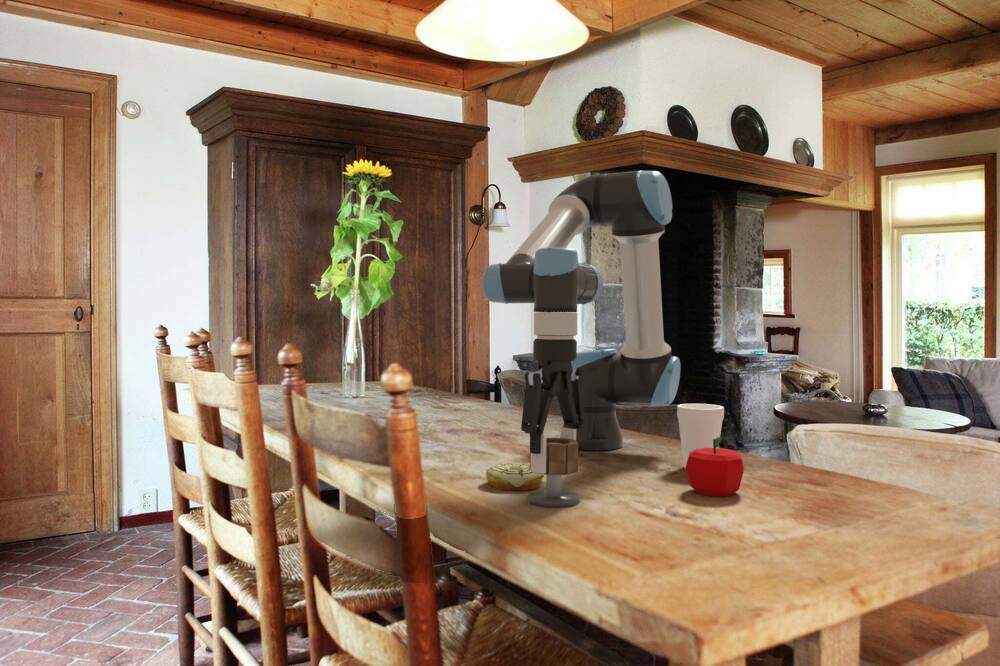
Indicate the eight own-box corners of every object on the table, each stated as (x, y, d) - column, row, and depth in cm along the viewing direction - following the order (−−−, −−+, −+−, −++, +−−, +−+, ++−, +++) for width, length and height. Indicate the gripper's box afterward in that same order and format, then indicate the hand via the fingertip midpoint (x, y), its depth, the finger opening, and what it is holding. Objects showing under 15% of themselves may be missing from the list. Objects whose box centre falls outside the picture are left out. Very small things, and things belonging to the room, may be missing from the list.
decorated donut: (522, 495, 144) (523, 474, 144) (475, 487, 150) (475, 467, 150) (552, 484, 153) (553, 465, 152) (506, 477, 159) (506, 458, 158)
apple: (731, 502, 139) (732, 445, 139) (675, 493, 145) (675, 438, 145) (753, 491, 147) (754, 437, 147) (698, 483, 154) (699, 431, 153)
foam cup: (702, 474, 161) (703, 410, 161) (667, 467, 169) (668, 405, 168) (731, 469, 167) (733, 407, 166) (697, 462, 174) (697, 402, 174)
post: (548, 492, 145) (549, 437, 145) (589, 500, 140) (590, 443, 139) (517, 501, 139) (517, 444, 138) (559, 510, 133) (559, 450, 132)
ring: (586, 470, 139) (586, 441, 139) (558, 477, 133) (559, 447, 133) (549, 463, 144) (549, 436, 144) (521, 470, 138) (521, 441, 138)
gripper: (572, 335, 148) (571, 457, 149) (499, 338, 133) (498, 474, 133) (606, 336, 143) (605, 462, 144) (535, 339, 128) (533, 481, 128)
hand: (553, 468), depth 139 cm, fingers closed on ring, 8 cm apart
